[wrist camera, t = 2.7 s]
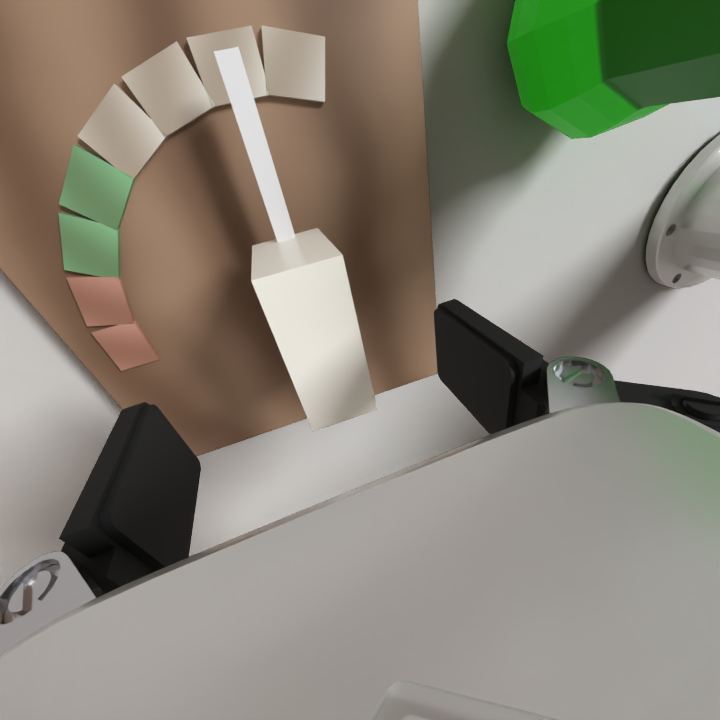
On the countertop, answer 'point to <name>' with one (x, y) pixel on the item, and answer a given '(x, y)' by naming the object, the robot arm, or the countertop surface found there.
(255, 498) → the countertop surface
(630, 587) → the robot arm
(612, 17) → the plastic bottle
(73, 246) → the tuner board
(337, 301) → the white piece
